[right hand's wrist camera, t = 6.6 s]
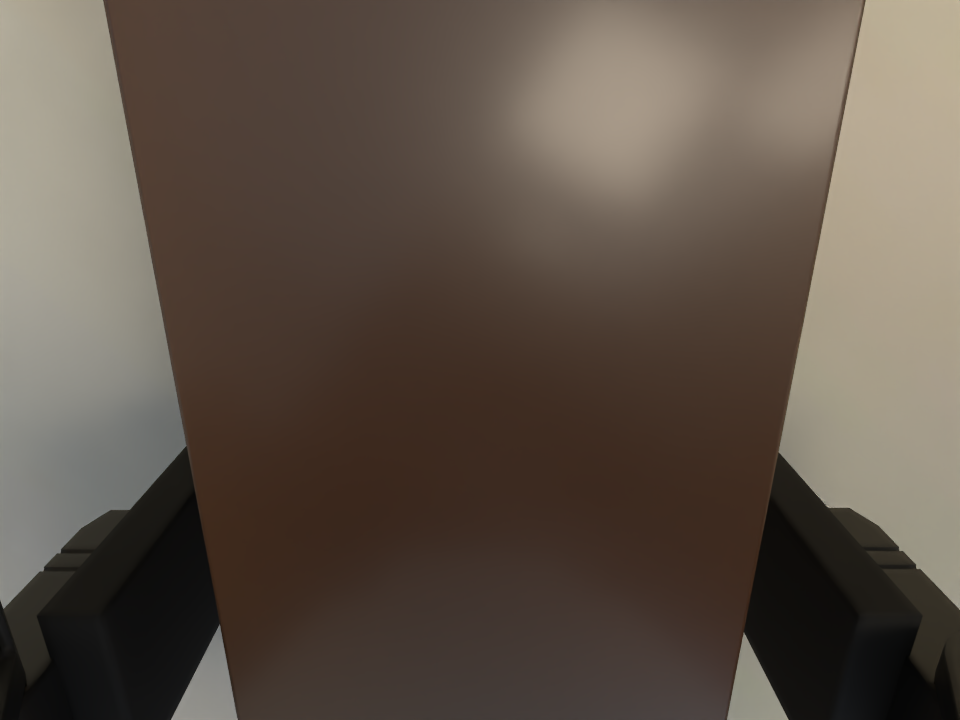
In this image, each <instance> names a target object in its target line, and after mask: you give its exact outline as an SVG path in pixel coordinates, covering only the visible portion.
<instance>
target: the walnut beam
mask: <svg viewBox="0 0 960 720" xmlns="http://www.w3.org/2000/svg"><path fill="white" fill-rule="evenodd" d="M103 1H104V6H105V11H106V17H107V22H108V27H109V33H110V38H111V43H112V49H113V54H114V60H115V65H116V70H117V76H118V81H119V86H120V92H121V97H122V102H123V108H124V113H125V118H126V124H127V129H128V134H129V140H130V145H131V151H132V156H133V161H134V167H135V172H136V177H137V183H138V188H139V193H140V199H141V204H142V209H143V215H144V220H145V225H146V231H147V236H148V242H149V247H150V252H151V258H152V263H153V268H154V274H155V279H156V284H157V290H158V295H159V300H160V306H161V311H162V317H163V322H164V327H165V333H166V338H167V343H168V349H169V354H170V359H171V365H172V370H173V375H174V381H175V386H176V391H177V397H178V402H179V408H180V413H181V418H182V424H183V429H184V434H185V440H186V445H187V450H188V456H189V461H190V466H191V472H192V477H193V482H194V488H195V493H196V499H197V504H198V509H199V515H200V520H201V525H202V531H203V536H204V541H205V547H206V552H207V557H208V563H209V568H210V573H211V579H212V584H213V590H214V595H215V600H216V606H217V611H218V616H219V622H220V627H221V632H222V638H223V643H224V648H225V654H226V659H227V665H228V670H229V675H230V681H231V686H232V691H233V697H234V702H235V707H236V713H237V718H238V720H727V716H728V711H729V705H730V700H731V695H732V690H733V685H734V679H735V674H736V669H737V664H738V659H739V653H740V648H741V643H742V638H743V633H744V628H745V622H746V617H747V612H748V607H749V602H750V596H751V591H752V586H753V581H754V576H755V571H756V565H757V560H758V555H759V550H760V545H761V539H762V534H763V529H764V524H765V519H766V513H767V508H768V503H769V498H770V493H771V488H772V482H773V477H774V472H775V467H776V462H777V456H778V451H779V446H780V441H781V436H782V431H783V425H784V420H785V415H786V410H787V405H788V399H789V394H790V389H791V384H792V379H793V373H794V368H795V363H796V358H797V353H798V348H799V342H800V337H801V332H802V327H803V322H804V316H805V311H806V306H807V301H808V296H809V291H810V285H811V280H812V275H813V270H814V265H815V259H816V254H817V249H818V244H819V239H820V234H821V228H822V223H823V218H824V213H825V208H826V202H827V197H828V192H829V187H830V182H831V176H832V171H833V166H834V161H835V156H836V151H837V145H838V140H839V135H840V130H841V125H842V119H843V114H844V109H845V104H846V99H847V94H848V88H849V83H850V78H851V73H852V68H853V62H854V57H855V52H856V47H857V42H858V36H859V31H860V26H861V21H862V16H863V11H864V5H865V0H103Z"/></svg>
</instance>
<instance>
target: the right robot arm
mask: <svg viewBox="0 0 960 720" xmlns="http://www.w3.org/2000/svg"><path fill="white" fill-rule="evenodd" d="M219 624H220V622H219V616H218V611H217V606H216V600H215V595H214V590H213V584H212V579H211V573H210V568H209V563H208V557H207V552H206V547H205V541H204V536H203V531H202V525H201V520H200V515H199V509H198V504H197V499H196V493H195V488H194V482H193V477H192V472H191V466H190V461H189V456H188V450H187V446H186V447H185V448H184V449H183V451H182V452H181V453H180V454H179V455H178V456H177V457H176V458H175V460H174V461H173V462H172V463H171V464H170V465H169V466H168V467H167V469H166V470H165V471H164V472H163V473H162V474H161V475H160V477H159V478H158V479H157V480H156V481H155V482H154V483H153V484H152V486H151V487H150V488H149V489H148V490H147V491H146V492H145V493H144V495H143V496H142V497H141V498H140V499H139V500H138V501H137V503H136V504H135V505H134V506H133V507H132V508H131V509H130V510H110V511H109V512H107V513H105V514H104V515H102V516H100V517H99V518H97V519H96V520H94V521H92V522H91V523H89V524H88V525H86V526H84V527H83V528H81V529H80V530H79V531H78V532H77V533H76V534H75V535H74V537H73V538H72V539H71V540H70V541H69V542H68V543H67V544H66V545H65V546H64V547H63V548H62V549H61V553H60V554H56V555H55V556H54V557H53V558H52V559H51V560H50V561H49V562H48V564H47V565H46V566H45V567H44V571H43V572H39V573H38V574H37V575H36V576H35V577H34V578H33V579H32V580H31V581H30V582H29V583H28V584H27V585H26V586H25V587H24V588H23V589H22V591H21V592H20V593H19V594H18V595H17V596H16V597H15V598H14V599H13V600H12V601H11V602H10V603H9V604H8V605H7V606H6V607H5V608H4V609H3V607H2V604H1V601H0V720H171V718H172V716H173V714H174V712H175V711H176V709H177V707H178V705H179V703H180V701H181V699H182V697H183V695H184V693H185V691H186V689H187V687H188V685H189V683H190V681H191V679H192V677H193V675H194V673H195V671H196V669H197V667H198V665H199V663H200V661H201V660H202V658H203V656H204V654H205V652H206V650H207V648H208V646H209V644H210V642H211V640H212V638H213V636H214V634H215V632H216V630H217V628H218V626H219ZM744 633H745V635H746V637H747V639H748V641H749V643H750V645H751V647H752V649H753V651H754V653H755V655H756V657H757V658H758V660H759V662H760V664H761V666H762V668H763V670H764V672H765V674H766V676H767V678H768V680H769V682H770V684H771V686H772V688H773V690H774V692H775V694H776V696H777V698H778V700H779V702H780V704H781V706H782V708H783V709H784V711H785V713H786V715H787V717H788V719H789V720H960V610H959V609H958V608H957V607H956V606H955V605H954V603H953V602H952V601H951V600H950V599H949V598H948V597H947V596H946V595H945V594H944V593H943V592H942V591H941V590H940V589H939V588H938V587H937V586H936V585H935V584H934V583H933V582H932V581H931V580H930V579H929V578H928V577H927V576H926V575H925V574H924V573H923V571H922V570H921V569H916V564H915V563H914V562H913V561H912V560H911V559H910V558H909V557H908V556H907V555H906V554H905V553H904V552H903V551H899V547H898V546H897V545H896V544H895V543H894V542H893V541H892V539H891V538H890V537H889V536H888V535H887V534H886V533H885V532H884V531H883V530H882V529H881V528H880V527H879V526H878V525H876V524H874V523H873V522H871V521H869V520H868V519H866V518H865V517H863V516H861V515H860V514H858V513H856V512H855V511H853V510H852V509H850V508H827V506H826V505H825V504H824V503H823V502H822V501H821V500H820V499H819V497H818V496H817V495H816V494H815V493H814V492H813V491H812V490H811V488H810V487H809V486H808V485H807V484H806V483H805V482H804V480H803V479H802V478H801V477H800V476H799V475H798V474H797V473H796V471H795V470H794V469H793V468H792V467H791V466H790V465H789V463H788V462H787V461H786V460H785V459H784V458H783V457H782V456H781V454H780V453H779V452H778V456H777V462H776V467H775V472H774V477H773V482H772V488H771V493H770V498H769V503H768V508H767V513H766V519H765V524H764V529H763V534H762V539H761V545H760V550H759V555H758V560H757V565H756V571H755V576H754V581H753V586H752V591H751V596H750V602H749V607H748V612H747V617H746V622H745V628H744Z"/></svg>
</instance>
